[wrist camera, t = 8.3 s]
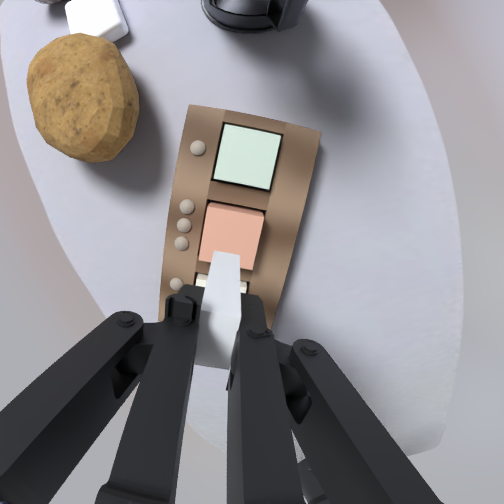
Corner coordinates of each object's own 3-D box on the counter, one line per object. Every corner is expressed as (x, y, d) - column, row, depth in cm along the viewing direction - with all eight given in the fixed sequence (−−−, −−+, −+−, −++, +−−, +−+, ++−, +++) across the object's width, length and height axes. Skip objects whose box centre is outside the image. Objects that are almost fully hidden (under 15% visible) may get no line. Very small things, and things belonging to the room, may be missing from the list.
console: (265, 326, 29) (267, 341, 27) (163, 308, 28) (157, 322, 26) (313, 134, 23) (322, 131, 21) (193, 109, 22) (188, 104, 19)
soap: (132, 34, 19) (121, 22, 16) (87, 61, 19) (73, 54, 17) (114, -13, 16) (104, -24, 13) (74, 13, 17) (62, 4, 14)
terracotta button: (250, 257, 25) (252, 270, 23) (202, 248, 25) (198, 260, 22) (261, 210, 24) (264, 217, 21) (211, 200, 24) (207, 206, 21)
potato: (103, 187, 24) (57, 200, 16) (45, 94, 20) (-1, 84, 12) (179, 122, 22) (154, 106, 15) (110, 31, 18) (75, 1, 11)
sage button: (265, 186, 24) (268, 189, 22) (216, 176, 24) (213, 178, 21) (276, 138, 23) (281, 135, 20) (226, 128, 23) (225, 124, 20)
